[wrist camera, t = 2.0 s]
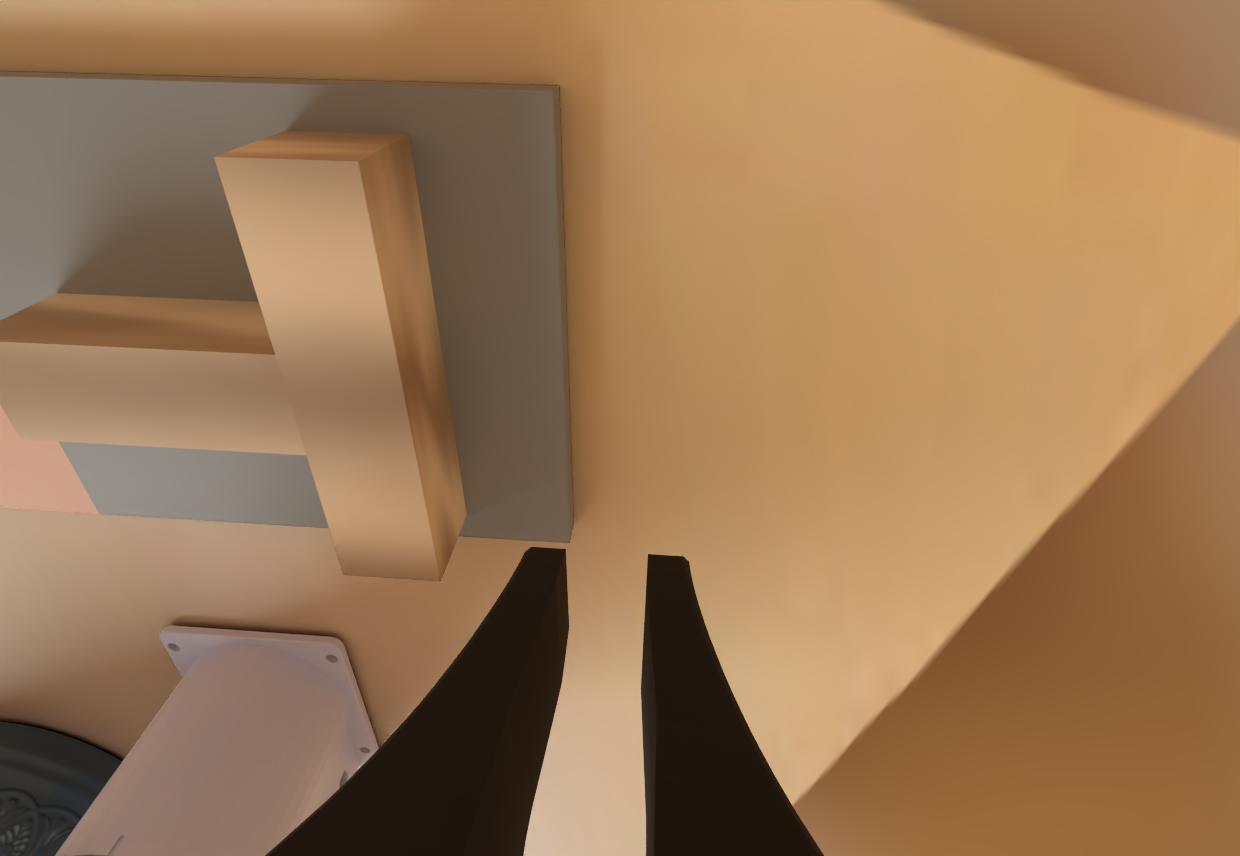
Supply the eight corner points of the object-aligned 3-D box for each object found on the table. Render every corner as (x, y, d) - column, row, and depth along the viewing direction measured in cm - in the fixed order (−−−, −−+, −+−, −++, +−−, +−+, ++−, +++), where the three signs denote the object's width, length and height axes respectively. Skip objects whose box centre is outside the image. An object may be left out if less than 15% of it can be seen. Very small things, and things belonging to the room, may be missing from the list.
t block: (466, 515, 22) (440, 580, 20) (155, 496, 23) (92, 558, 20) (408, 133, 16) (358, 161, 13) (-28, 121, 16) (-157, 144, 14)
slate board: (573, 523, 24) (569, 542, 23) (-256, 473, 25) (-288, 490, 24) (559, 85, 16) (553, 91, 15) (-642, 54, 17) (-708, 57, 17)
